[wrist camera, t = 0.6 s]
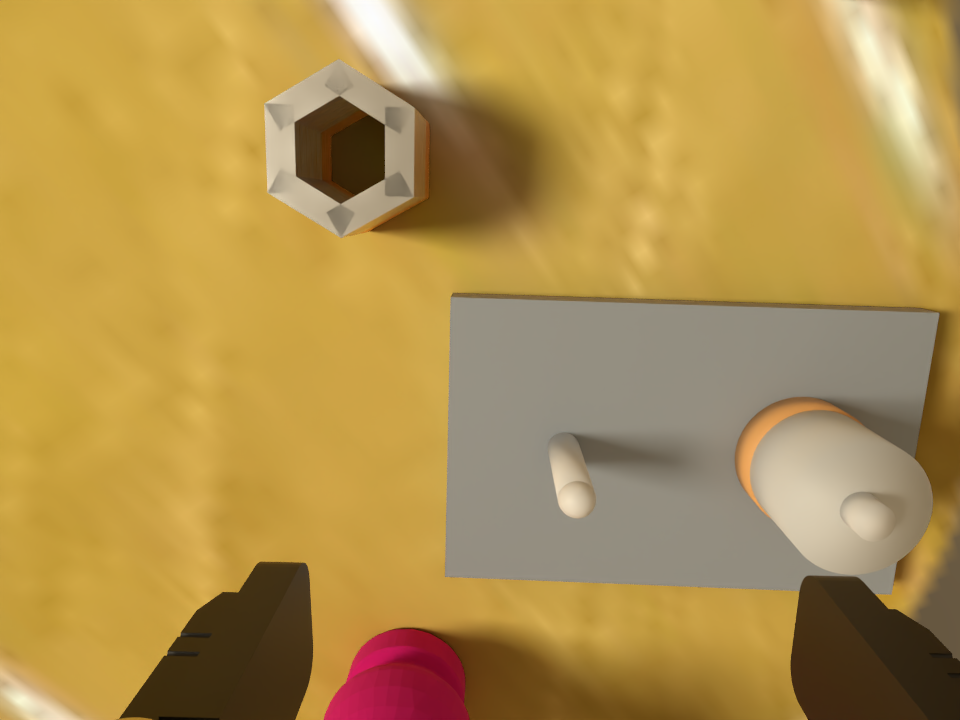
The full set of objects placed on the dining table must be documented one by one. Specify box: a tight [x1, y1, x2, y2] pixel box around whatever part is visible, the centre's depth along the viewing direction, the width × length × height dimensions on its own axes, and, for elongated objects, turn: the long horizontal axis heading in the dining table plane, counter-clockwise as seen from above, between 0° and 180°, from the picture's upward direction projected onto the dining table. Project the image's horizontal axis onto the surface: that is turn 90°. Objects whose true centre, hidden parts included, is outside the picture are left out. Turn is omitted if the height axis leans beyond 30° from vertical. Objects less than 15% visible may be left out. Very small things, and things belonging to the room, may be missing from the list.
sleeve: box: [264, 59, 430, 238], centre depth 30 cm, size 6×6×6 cm
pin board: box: [445, 293, 940, 594], centre depth 31 cm, size 14×22×9 cm, turn 88°
